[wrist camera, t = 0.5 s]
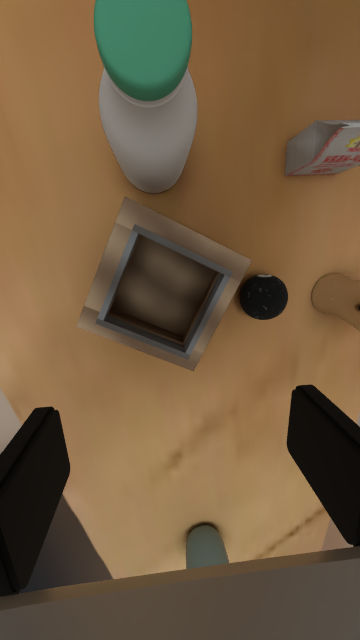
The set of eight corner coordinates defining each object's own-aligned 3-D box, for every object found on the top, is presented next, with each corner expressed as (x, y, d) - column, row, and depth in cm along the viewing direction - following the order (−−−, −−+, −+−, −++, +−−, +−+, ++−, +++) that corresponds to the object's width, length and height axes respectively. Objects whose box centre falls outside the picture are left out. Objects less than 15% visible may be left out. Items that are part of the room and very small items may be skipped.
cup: (176, 528, 50) (181, 596, 40) (211, 512, 49) (224, 577, 40) (194, 550, 52) (202, 619, 43) (227, 535, 52) (243, 602, 42)
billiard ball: (234, 313, 37) (247, 326, 32) (235, 272, 35) (250, 279, 30) (273, 311, 38) (293, 324, 32) (276, 271, 36) (299, 276, 30)
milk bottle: (189, 187, 32) (236, 108, 13) (129, 200, 32) (85, 137, 12) (177, 115, 29) (213, -117, 10) (112, 128, 29) (26, -84, 10)
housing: (133, 207, 32) (122, 192, 22) (229, 255, 35) (259, 262, 24) (95, 306, 35) (70, 333, 25) (185, 342, 38) (195, 380, 28)
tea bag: (287, 142, 31) (344, 99, 22) (339, 141, 32) (417, 98, 22) (284, 175, 32) (337, 148, 23) (335, 174, 33) (407, 147, 23)
